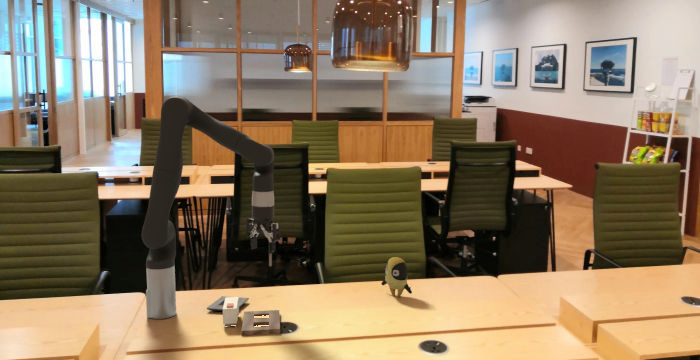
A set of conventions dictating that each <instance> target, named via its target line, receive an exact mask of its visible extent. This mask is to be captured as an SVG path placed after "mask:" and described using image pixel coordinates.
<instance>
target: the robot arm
mask: <svg viewBox="0 0 700 360" xmlns="http://www.w3.org/2000/svg"><path fill="white" fill-rule="evenodd" d="M186 126H187V127H189V128H192V129H195V130H197V131H199V132H200V133H203V134H204V135H206V136H207V137H209V138H210V139H211V140H212V141H214V142H215V143H217V144H219V145H220V146H222V147H224V148H226V149H228V150H230V152H231V151H232V152H233V153H235V154H237V155H240V156H241V157H243V158H244V159H246V160H247V161H249V162H250V163H252V164H253V176H252V192H251V193H252V194H251V218H250V217H249V218H246V221H245V222H246V223H245V224H246V225H245V226H246V227H245V228H246V229H245V234H246V236H248V237H249V238H250V247H251V248H250V249H251V250H256V249H258V236H259V234H261V235H264V236H265V237H266V238H267V240H268V254H274V253H275V251H276V243H277V242H278V241H279V242H280V241H281V223H280V222H276V223H275V222H273V219H274V217H275V194H274V192H275V191H274V182H275V181H274V167H275V151H274V149H273V148H272V146H270V145H268V144H262V143H260V142H257V141H256V140H253V139H251V137H249V136H248V134H246V133H244V132H242V131H240V130H238V129H236V128H234V127H232V126H230V125H229V124H226V123H225V122H222V121H220V120H219V119H216V118H214V117H213V116H211V115H210V114H208V113H206V112H205V111H203V110H202V109H200V108H199V107H198V106H196V105H195V104H194V103H193V102H192V101H190V100H189V98H186V97H184V96H170V97H168V98H167V99H165V100H164V102H163V103H162V105H161V109H160V126H159V127H160V128H159V137H158V143H157V147H156V148H157V149H156V154H155V157H154V158H155V159H154V164H153V167H152V168H153V169H152V176H151V177H152V178H151V184H150V192H149V199H148V207H147V211H146V213H145V218H144V223H143V225H142V230H141V240H142V242H143V244H144V246H145V247H146V248H148V249H149V250H148V254H147V256H146V261H145V267H146V270H145V271H146V287H147V288H146V290H145V304H146V318H147V319H153V320H154V319H155V320H162V319H168V318H172V317H175V315H176V314H177V299H176V298H177V297H176V296H177V294H176V273H175V272H176V269H175V259H176V255H177V234H176V228H175V226H174V223H173V222H172V221H171V220H170V211H171V208H172V206H173V203H174V201H175V199H176V196H177V194H178V191H179V188H180V184H181V181H182V175H183V169H184V168H183V167H184V157H183V138H184V133H185V129H186Z"/></svg>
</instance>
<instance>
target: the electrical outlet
mask: <svg viewBox="0 0 700 360" xmlns="http://www.w3.org/2000/svg"><path fill="white" fill-rule="evenodd" d="M225 297H226V296H221V297H219V298H218V299H217V300H215V301H213V302H212V303H211V304H210V305H208V306H207V307H206V309H207V310H209V311H216V312H223V306H224V301H225ZM238 297H239V296H238ZM249 299H250V298H249V297H239V308H241V307H242V306H243V305H244V304H245V303H247V302H248V301H249Z"/></svg>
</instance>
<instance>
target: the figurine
mask: <svg viewBox="0 0 700 360" xmlns="http://www.w3.org/2000/svg"><path fill="white" fill-rule="evenodd" d="M384 278H385V279H382V281H381V286H385V285H388V288H389V291H390V293H391V295H392V296H395V295H396V290H397V298H400V297H401V296H402V294H403V292H404V290H405V291H406V292H408V293H409V294H410V295H412V293H413V291H412V289H411V287H412V286H411V287H410V286H409V283H408V268H407V264H406V261H405V260H404V259H403V258H400V257H397V256H395V257H394V256H392V257H390V258H389V259H388V261H387V263H386V266H385V276H384Z"/></svg>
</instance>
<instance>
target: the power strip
mask: <svg viewBox="0 0 700 360" xmlns="http://www.w3.org/2000/svg"><path fill="white" fill-rule="evenodd" d="M239 313H240V307H239V296H225V301H224V306H223V311H222V324H223V325H224V327H225V326H231V325H236V326H237V324H238V318H239Z"/></svg>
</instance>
